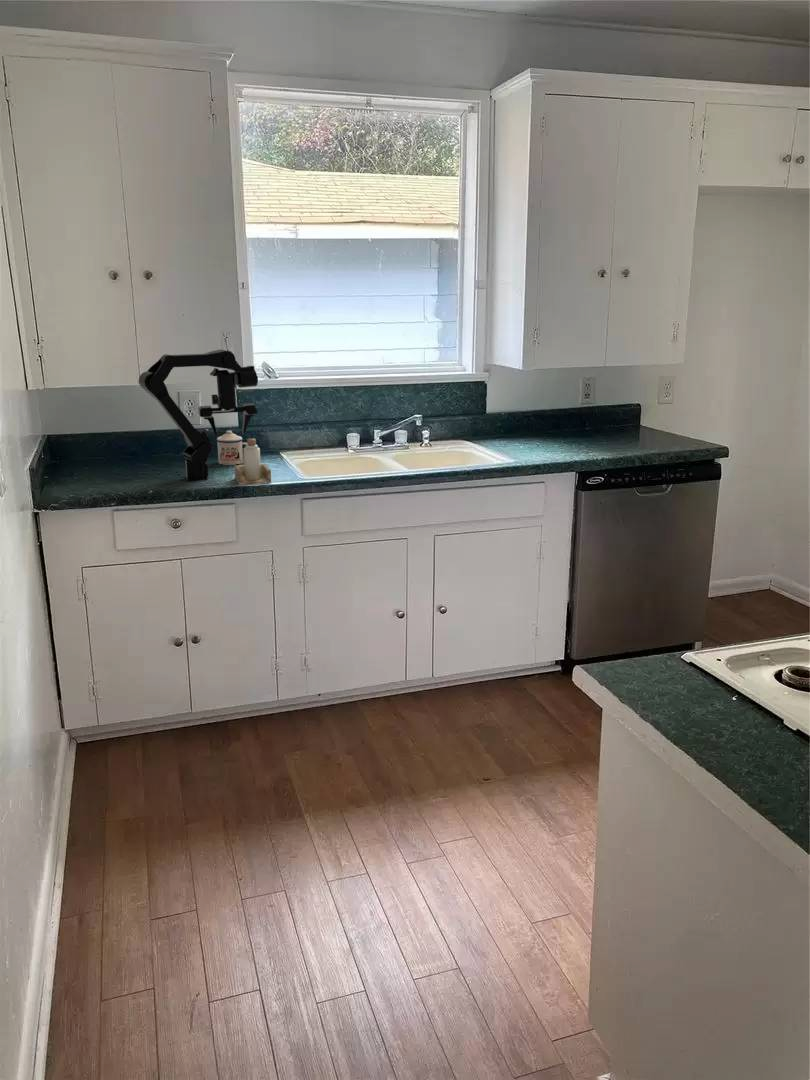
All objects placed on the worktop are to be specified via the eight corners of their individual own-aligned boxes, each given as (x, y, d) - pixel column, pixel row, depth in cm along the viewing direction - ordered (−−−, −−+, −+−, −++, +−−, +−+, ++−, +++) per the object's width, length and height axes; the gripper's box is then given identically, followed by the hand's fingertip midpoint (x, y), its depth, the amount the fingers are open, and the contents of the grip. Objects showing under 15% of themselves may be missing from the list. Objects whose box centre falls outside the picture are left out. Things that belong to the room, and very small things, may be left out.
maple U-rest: (240, 485, 267) (239, 472, 266) (235, 478, 276) (234, 465, 275) (271, 482, 271) (270, 470, 270) (265, 476, 280) (264, 463, 278)
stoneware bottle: (242, 479, 271) (241, 440, 267) (247, 476, 276) (245, 437, 272) (258, 480, 270) (257, 440, 267) (262, 477, 275) (261, 438, 272)
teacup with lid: (217, 466, 294) (215, 433, 291) (218, 460, 303) (216, 428, 299) (251, 465, 296) (250, 432, 293) (251, 459, 305) (250, 428, 301)
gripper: (251, 384, 284) (254, 429, 289) (195, 387, 278) (199, 433, 283) (256, 388, 274) (259, 435, 279) (198, 391, 268) (202, 439, 273)
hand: (229, 435), depth 279 cm, fingers open, 9 cm apart
